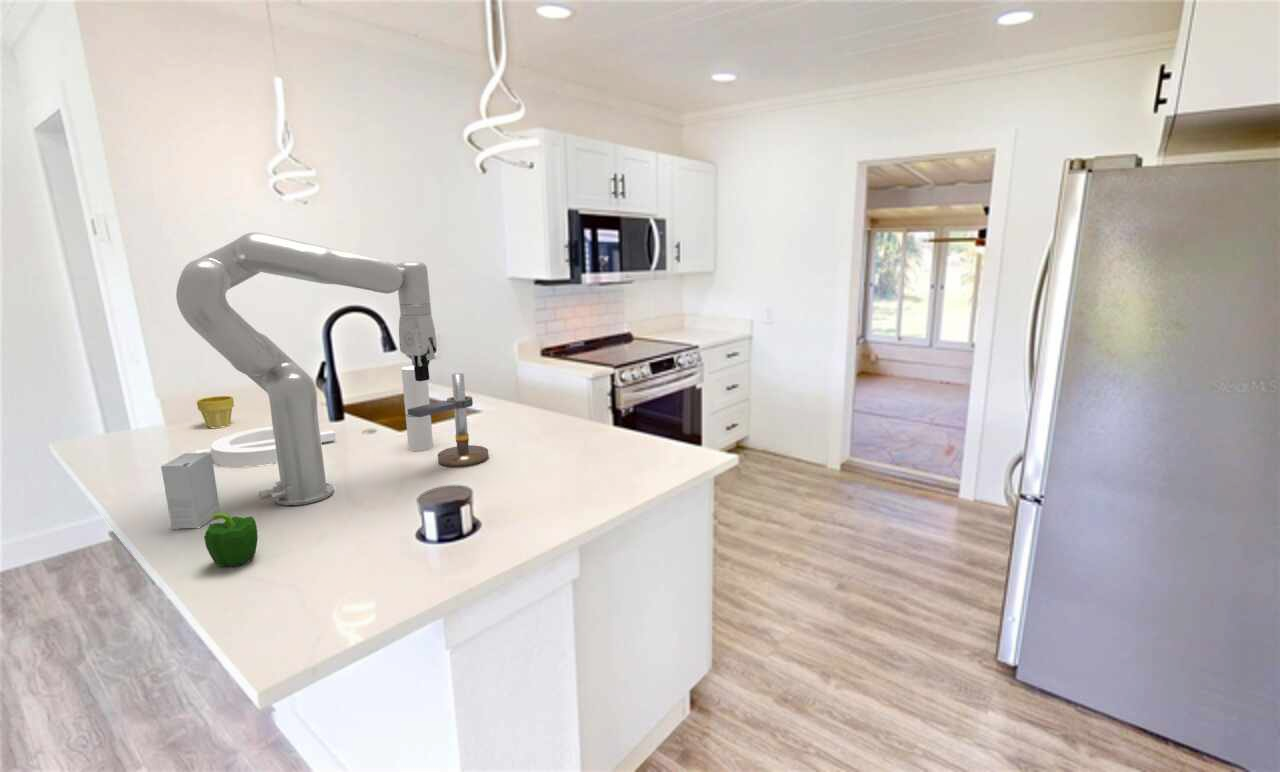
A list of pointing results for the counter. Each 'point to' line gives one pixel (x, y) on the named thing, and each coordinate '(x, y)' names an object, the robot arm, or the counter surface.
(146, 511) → the counter surface
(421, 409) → the collar
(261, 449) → the white circle with bar
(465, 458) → the pipe stand
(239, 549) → the bell pepper
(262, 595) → the counter surface
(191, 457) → the skincare box
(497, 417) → the counter surface
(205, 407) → the plant pot
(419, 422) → the cylindrical container
